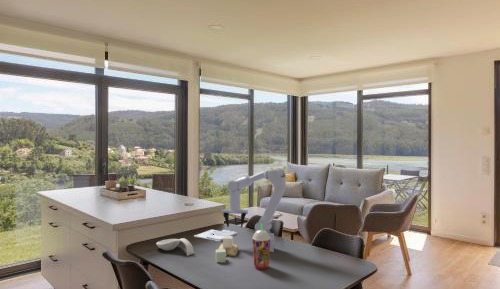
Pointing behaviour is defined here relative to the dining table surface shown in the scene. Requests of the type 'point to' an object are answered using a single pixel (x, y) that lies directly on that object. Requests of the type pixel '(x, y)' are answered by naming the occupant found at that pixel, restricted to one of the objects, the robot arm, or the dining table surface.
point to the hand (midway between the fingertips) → (234, 226)
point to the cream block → (228, 242)
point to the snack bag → (215, 234)
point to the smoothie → (261, 248)
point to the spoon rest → (172, 243)
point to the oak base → (230, 250)
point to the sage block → (220, 255)
